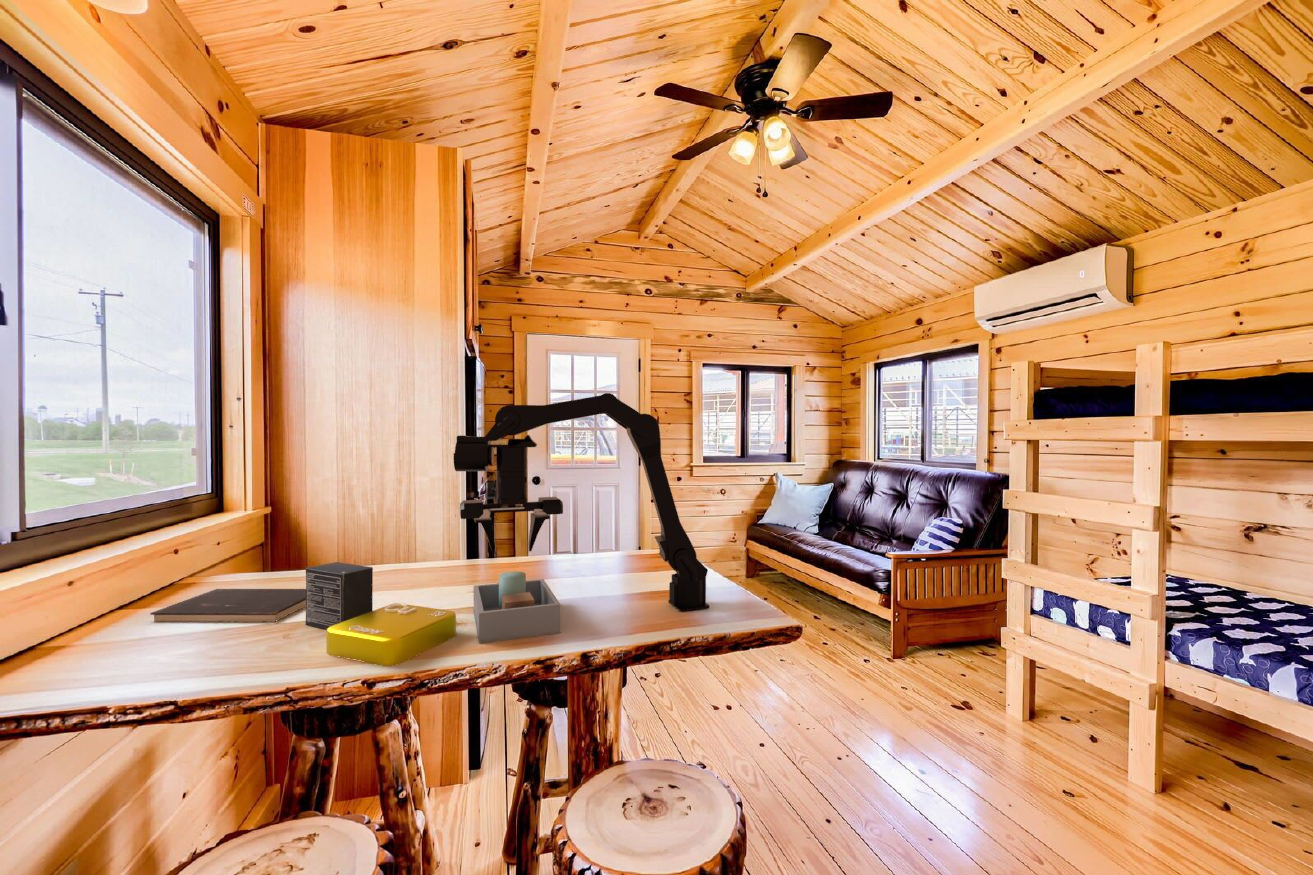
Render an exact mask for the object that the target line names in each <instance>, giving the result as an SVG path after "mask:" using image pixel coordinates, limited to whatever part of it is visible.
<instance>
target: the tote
mask: <svg viewBox="0 0 1313 875" xmlns="http://www.w3.org/2000/svg"><path fill="white" fill-rule="evenodd" d="M526 592H530V593H531V595H532V597H533V599H534V606H528V607H519V608H510V609H501V610H499V582H498V583H486V584H476V585H475V584H474V585H473V614H474V621H475V626H476V632H477V639H478V643H479V644H484V643H485V644H486V643H492V642H493V643H494V642H499V641H508V640H514V639H522V638H531V637H538V636H546V635H553V634H561V603H560V601H559V600H558V598H557V597H556V595H555V594H554V592H553V590H551V588H550V586H549V585H548V584H547V582H546V581H545V579H543V578H542V579H539V578H538V579H530V580H526Z"/></svg>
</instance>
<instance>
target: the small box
mask: <svg viewBox="0 0 1313 875" xmlns="http://www.w3.org/2000/svg"><path fill="white" fill-rule="evenodd" d="M373 570H374V569H373V566H366V565H359V564H352V563H345V562H337V561H335V562H330V563H325V564H320V565H314V566H309V567H306V568H305V585H306V586H305V589H306V607H305V625H306V626H310V627H313V628H319V629H324V630H327V629H328V628H329V627H330V626H333V625H335V624H338V623H341V622H344V621H346V620H349V619H352V618H355V617H357V616H360V615H363V614H366V613H368V612H371V611H373V595H374V594H373V591H374V590H373V589H374V588H373V587H374V586H373V575H374V574H373Z"/></svg>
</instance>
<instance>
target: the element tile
mask: <svg viewBox="0 0 1313 875" xmlns="http://www.w3.org/2000/svg"><path fill="white" fill-rule="evenodd" d="M325 635H326V636H325V637H326V641H325V643H326V655H328V656H331V655H334V656H333V657H336V656H340V657H339V658H341V657H345V658H344V659H346V658H350V659H349V660H351V659H356V660H361V661H364V662H363V663H366V662H367V663H366V664H372V665H375V664H376V665H375V666H380V665H382V667H392V665H393V666H397V665H396V664H398V665H400V664H403V663H405V662H407V661H409V660H412V659H413V658H415V657H417V656H419V655H421V654H424V653H426V652H428V651H429V650H431V649H433V648H435V647H437V646H439V645H441V644H444V643H445V642H447V641H450V640H452V639H453V638H455V637H456V635H457V614H456V612H455V611H452V610H448V609H447V610H446V609H441V608H433V607H427V606H419V605H414V604H413V605H412V604H406V603H398V602H397V603H392V604H388V605H385V606H383V607H380V608H377V609H374V610H372V611H371V612H368V613H366V614H363V615H360V616H357V617H355V618H352V619H349V620H346V621H344V622H341V623H338V624H335V625H333V626H330V627H329V628H328V629H326V634H325ZM416 655H417V656H416ZM408 659H409V660H408ZM356 660H355V661H356ZM361 661H360V662H361Z"/></svg>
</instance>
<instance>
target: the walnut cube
mask: <svg viewBox="0 0 1313 875" xmlns="http://www.w3.org/2000/svg"><path fill="white" fill-rule="evenodd" d="M528 606H534V599H533V597H532V595H531V593H530V592H526V593H516V594H506V595H502V609H510V608H519V607H528Z"/></svg>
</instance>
